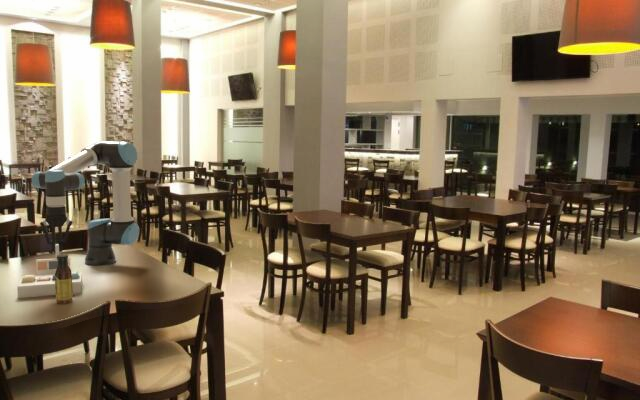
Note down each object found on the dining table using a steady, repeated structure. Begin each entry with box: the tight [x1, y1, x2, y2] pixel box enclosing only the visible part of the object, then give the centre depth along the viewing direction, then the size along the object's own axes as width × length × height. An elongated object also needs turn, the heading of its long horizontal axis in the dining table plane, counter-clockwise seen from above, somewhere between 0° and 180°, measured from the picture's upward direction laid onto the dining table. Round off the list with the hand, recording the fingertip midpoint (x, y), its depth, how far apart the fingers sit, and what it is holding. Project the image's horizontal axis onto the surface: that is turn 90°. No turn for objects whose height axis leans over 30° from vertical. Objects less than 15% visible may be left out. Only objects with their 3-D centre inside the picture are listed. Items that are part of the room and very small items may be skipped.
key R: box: [71, 271, 80, 279], centre depth 232 cm, size 4×4×4 cm
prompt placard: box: [35, 257, 71, 276], centre depth 240 cm, size 14×1×11 cm, turn 113°
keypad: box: [16, 271, 83, 299], centre depth 229 cm, size 24×16×5 cm, turn 113°
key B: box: [38, 277, 50, 282], centre depth 227 cm, size 4×4×4 cm
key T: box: [21, 274, 36, 283], centre depth 225 cm, size 4×4×4 cm
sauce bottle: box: [55, 253, 74, 305], centre depth 213 cm, size 7×6×20 cm
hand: (57, 259), depth 228 cm, fingers closed
